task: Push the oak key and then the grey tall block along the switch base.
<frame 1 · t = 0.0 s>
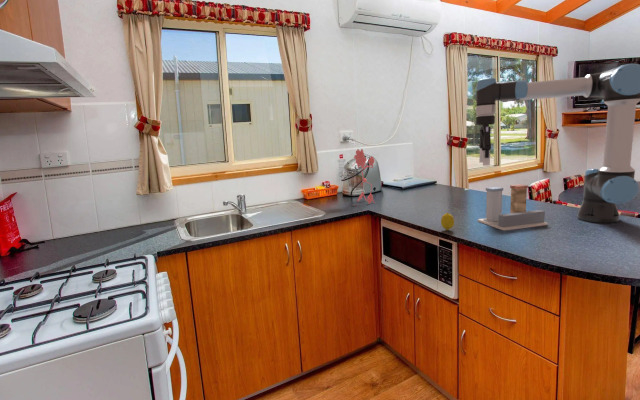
hand: (484, 164, 162), 28 cm above the worktop, tool pointing down, fingers open, 13 cm apart
grey tall block: (494, 204, 167), point 9 cm above the worktop, slide at 0.0 cm
figurine: (361, 203, 233), on the worktop
lemon: (447, 230, 161), on the worktop
oak key: (518, 201, 169), point 9 cm above the worktop, slide at 0.0 cm
switch base: (511, 223, 166), on the worktop
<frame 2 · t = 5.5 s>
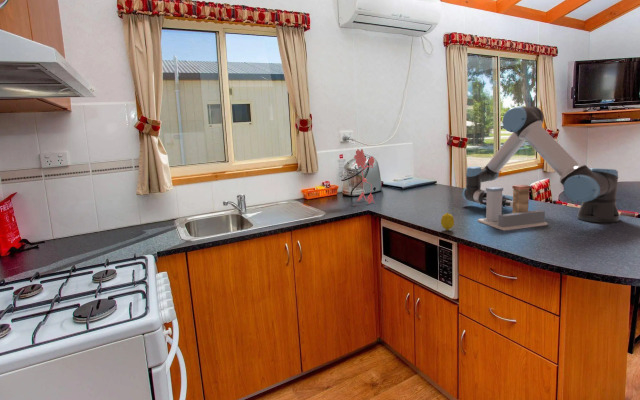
hand: (516, 205, 170), 7 cm above the worktop, tool horizontal, fingers closed
oak key: (520, 201, 168), point 9 cm above the worktop, slide at 1.4 cm, touching gripper
everything else where it was.
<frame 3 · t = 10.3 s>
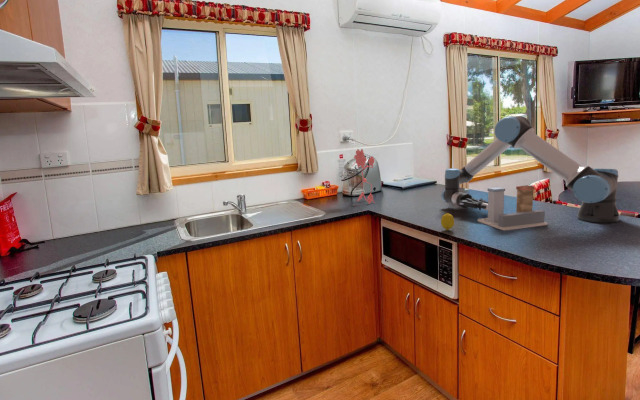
hand: (492, 208, 168), 7 cm above the worktop, tool horizontal, fingers closed
grey tall block: (495, 204, 165), point 9 cm above the worktop, slide at 1.3 cm, touching gripper
oak key: (524, 202, 166), point 9 cm above the worktop, slide at 3.9 cm
everything else where it was.
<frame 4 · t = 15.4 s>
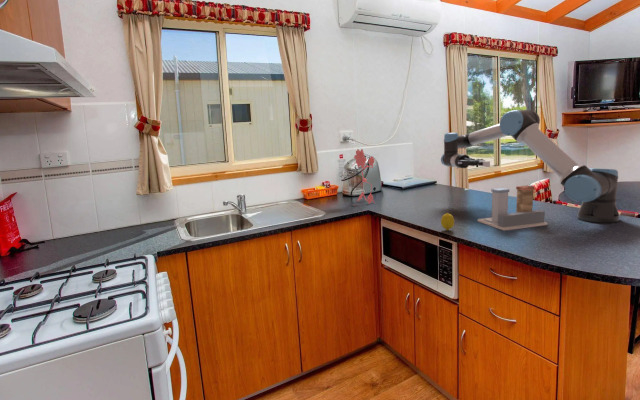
hand: (488, 164, 178), 26 cm above the worktop, tool horizontal, fingers closed
grey tall block: (499, 205, 163), point 9 cm above the worktop, slide at 3.9 cm
everything else where it was.
at the end: oak key slide at 3.9 cm; grey tall block slide at 3.9 cm; lemon moved 0.2 cm from its start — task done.
